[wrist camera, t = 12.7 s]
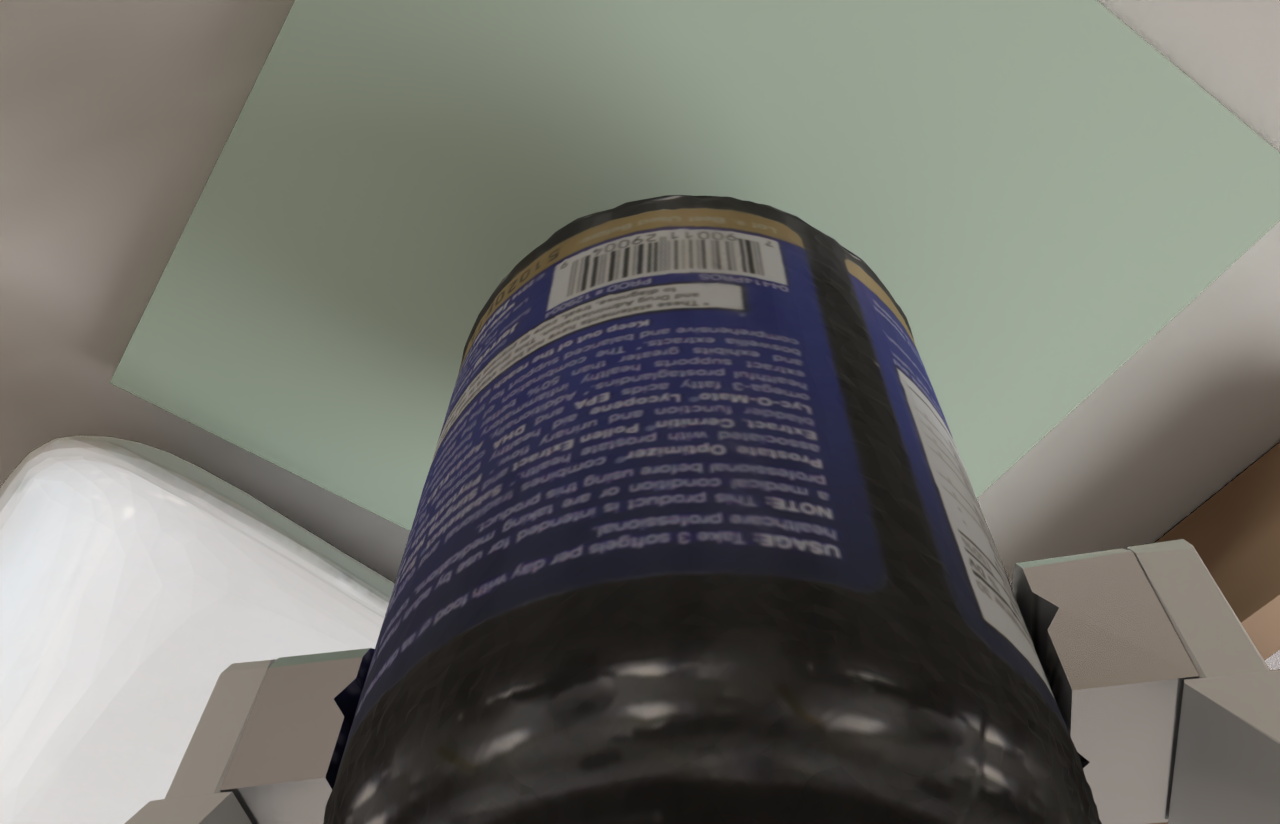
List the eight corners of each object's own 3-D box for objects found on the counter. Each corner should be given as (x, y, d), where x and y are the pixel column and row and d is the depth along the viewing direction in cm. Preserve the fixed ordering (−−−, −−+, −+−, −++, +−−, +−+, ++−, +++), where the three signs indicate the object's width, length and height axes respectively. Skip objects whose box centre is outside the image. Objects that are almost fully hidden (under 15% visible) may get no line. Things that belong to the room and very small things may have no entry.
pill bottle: (407, 471, 16) (40, 1526, 7) (571, 92, 13) (312, 1063, 4) (781, 612, 17) (905, 1661, 8) (1010, 296, 14) (1633, 1399, 5)
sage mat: (531, -470, 12) (525, -476, 12) (1297, 169, 16) (1317, 185, 16) (124, 364, 18) (109, 382, 18) (753, 678, 22) (755, 701, 22)
